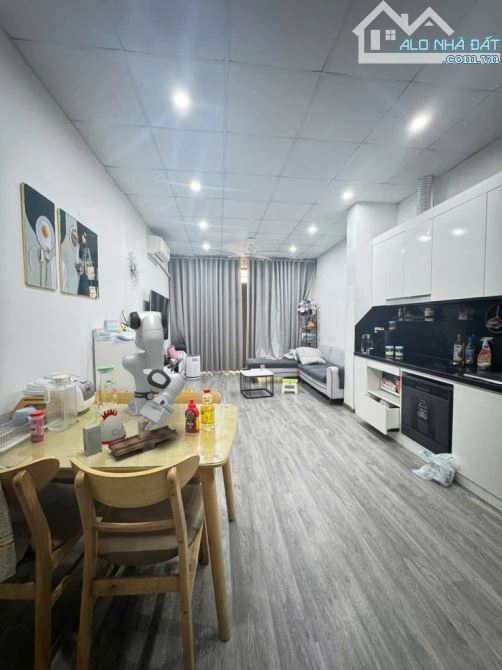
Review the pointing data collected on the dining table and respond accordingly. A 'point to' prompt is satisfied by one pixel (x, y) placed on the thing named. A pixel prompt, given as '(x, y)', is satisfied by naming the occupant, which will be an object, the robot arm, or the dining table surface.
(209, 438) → the dining table surface
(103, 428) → the grey crested helmet
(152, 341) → the robot arm
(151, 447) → the balance beam
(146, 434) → the rider block
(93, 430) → the skincare box
